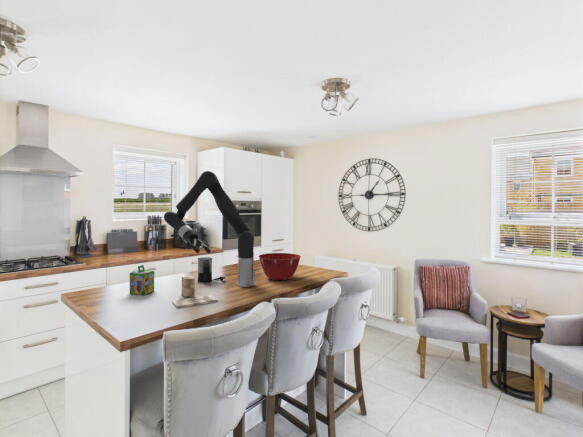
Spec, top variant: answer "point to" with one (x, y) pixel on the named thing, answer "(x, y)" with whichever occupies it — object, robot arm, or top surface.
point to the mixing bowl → (279, 265)
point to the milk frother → (206, 270)
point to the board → (194, 301)
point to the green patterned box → (141, 281)
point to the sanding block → (188, 287)
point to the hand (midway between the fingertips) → (204, 252)
